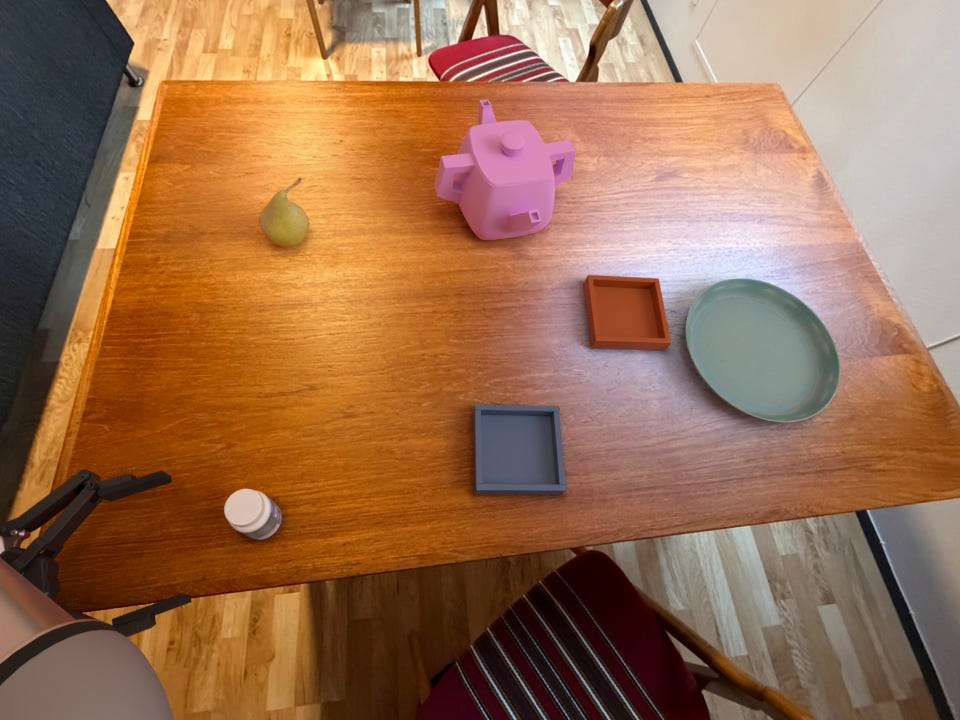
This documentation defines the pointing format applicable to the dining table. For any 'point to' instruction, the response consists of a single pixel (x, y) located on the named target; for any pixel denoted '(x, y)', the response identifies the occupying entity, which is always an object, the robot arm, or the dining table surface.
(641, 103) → the dining table surface
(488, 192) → the teapot
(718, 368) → the saucer
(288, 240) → the fruit
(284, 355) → the dining table surface
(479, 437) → the blue tray
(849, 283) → the dining table surface
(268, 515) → the pill bottle
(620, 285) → the burnt orange tray
